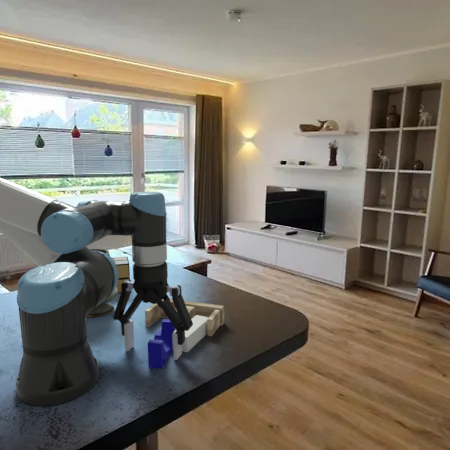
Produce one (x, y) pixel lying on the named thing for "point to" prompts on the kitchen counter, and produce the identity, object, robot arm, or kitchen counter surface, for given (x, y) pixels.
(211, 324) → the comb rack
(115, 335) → the kitchen counter surface
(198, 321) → the white rectangular bar
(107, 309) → the apothecary jar
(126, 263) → the puzzle cube
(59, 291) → the robot arm
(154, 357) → the blue stepped long piece
